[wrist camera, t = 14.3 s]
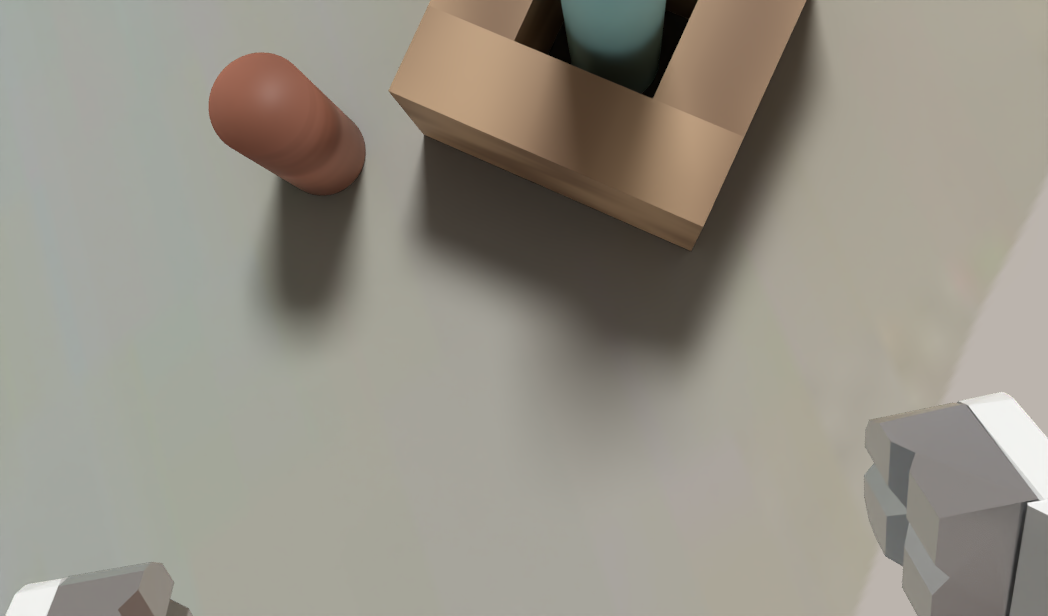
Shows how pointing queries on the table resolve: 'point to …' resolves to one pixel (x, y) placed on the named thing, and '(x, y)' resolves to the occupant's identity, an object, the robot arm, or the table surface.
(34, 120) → the table surface
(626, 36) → the long pin
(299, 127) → the short pin
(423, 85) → the hole block
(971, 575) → the robot arm
